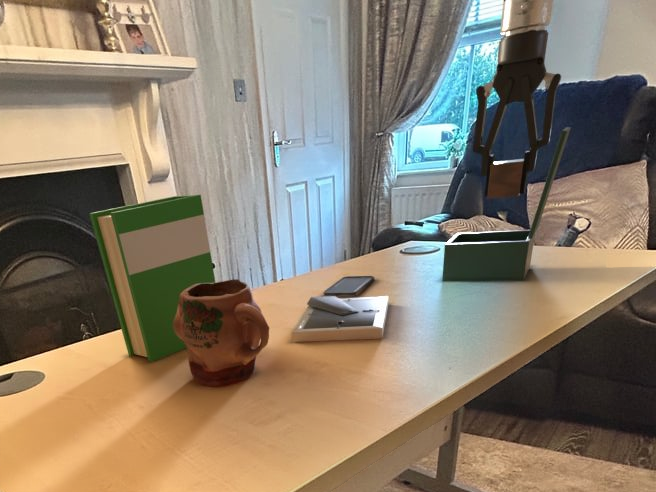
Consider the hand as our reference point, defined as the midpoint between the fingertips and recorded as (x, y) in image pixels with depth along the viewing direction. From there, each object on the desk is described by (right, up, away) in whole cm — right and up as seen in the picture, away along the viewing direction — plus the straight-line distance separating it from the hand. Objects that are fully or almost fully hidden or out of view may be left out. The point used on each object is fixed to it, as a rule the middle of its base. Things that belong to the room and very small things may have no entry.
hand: (504, 193), depth 101 cm
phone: (-27, -10, +21) cm, 35 cm away
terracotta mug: (-51, -40, -16) cm, 67 cm away
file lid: (+10, +4, +4) cm, 11 cm away
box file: (+3, -8, +17) cm, 19 cm away
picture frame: (-31, -25, 0) cm, 40 cm away
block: (0, 0, 0) cm, 0 cm away
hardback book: (-63, -29, +1) cm, 69 cm away
